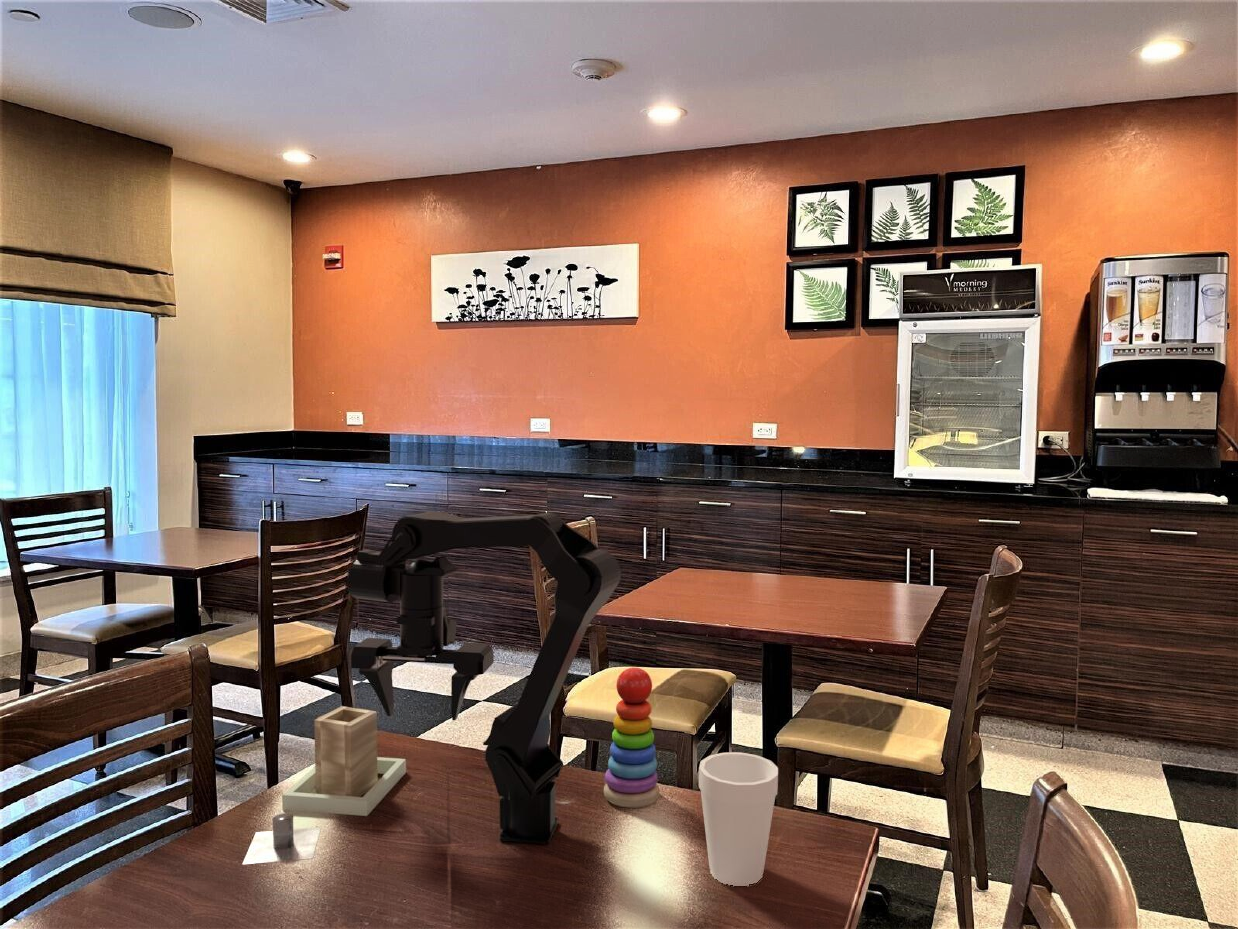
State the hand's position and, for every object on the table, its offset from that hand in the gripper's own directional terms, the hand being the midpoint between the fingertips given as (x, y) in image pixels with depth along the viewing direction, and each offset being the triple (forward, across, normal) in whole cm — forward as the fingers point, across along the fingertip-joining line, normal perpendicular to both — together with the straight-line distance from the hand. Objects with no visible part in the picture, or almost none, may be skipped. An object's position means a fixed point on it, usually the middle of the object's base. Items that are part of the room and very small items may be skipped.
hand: (422, 717), depth 123 cm
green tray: (+13, +12, -2) cm, 18 cm away
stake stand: (+13, +13, +14) cm, 23 cm away
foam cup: (+13, -43, +10) cm, 46 cm away
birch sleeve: (+12, +12, -2) cm, 17 cm away
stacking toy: (+13, -28, -8) cm, 32 cm away
